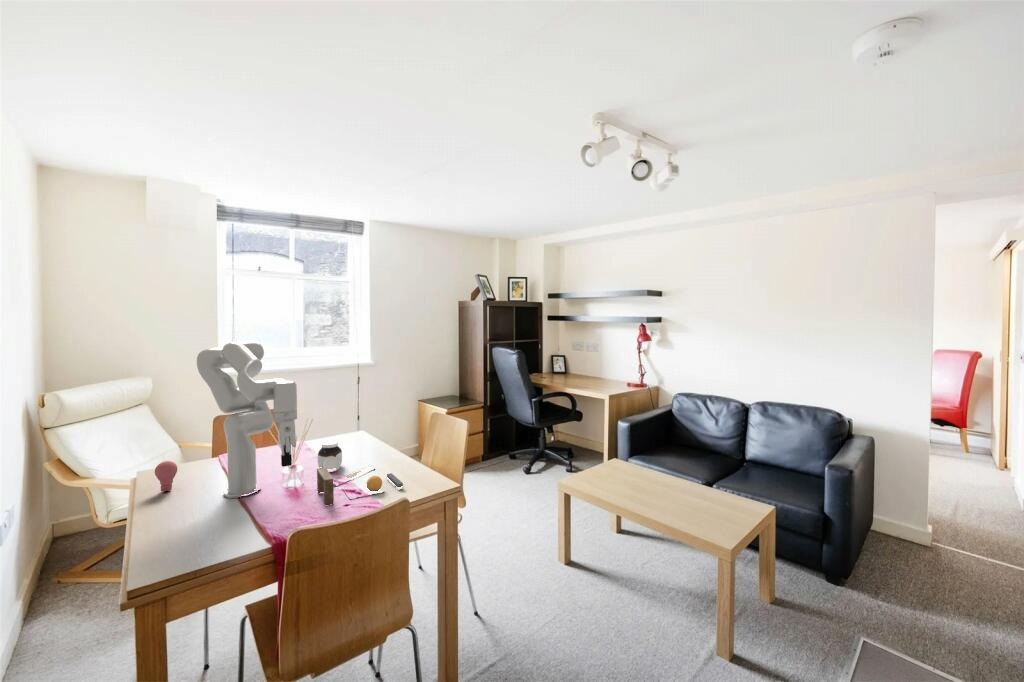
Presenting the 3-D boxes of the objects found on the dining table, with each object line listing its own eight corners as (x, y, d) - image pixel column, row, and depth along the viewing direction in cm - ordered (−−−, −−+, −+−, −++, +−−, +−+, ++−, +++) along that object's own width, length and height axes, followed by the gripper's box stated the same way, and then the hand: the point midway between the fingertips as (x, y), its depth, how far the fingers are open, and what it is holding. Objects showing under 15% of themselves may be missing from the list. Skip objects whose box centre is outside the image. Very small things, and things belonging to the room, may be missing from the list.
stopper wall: (387, 479, 191) (386, 474, 191) (391, 478, 192) (391, 473, 192) (398, 490, 179) (398, 484, 179) (402, 489, 180) (402, 483, 180)
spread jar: (333, 463, 212) (332, 439, 211) (350, 467, 207) (350, 442, 206) (311, 471, 201) (311, 445, 201) (329, 475, 196) (328, 449, 196)
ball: (379, 488, 182) (364, 489, 179) (380, 473, 183) (365, 474, 180) (383, 492, 177) (367, 493, 174) (384, 477, 177) (368, 478, 174)
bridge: (325, 506, 164) (324, 480, 163) (317, 492, 176) (317, 468, 176) (333, 504, 165) (333, 478, 165) (325, 491, 178) (325, 467, 177)
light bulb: (173, 486, 182) (172, 457, 181) (181, 490, 178) (180, 460, 178) (152, 492, 176) (151, 462, 175) (160, 496, 172) (159, 465, 172)
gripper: (300, 418, 158) (301, 469, 159) (294, 410, 170) (294, 458, 171) (276, 420, 154) (277, 473, 155) (271, 412, 166) (272, 461, 167)
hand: (286, 465), depth 163 cm, fingers closed
